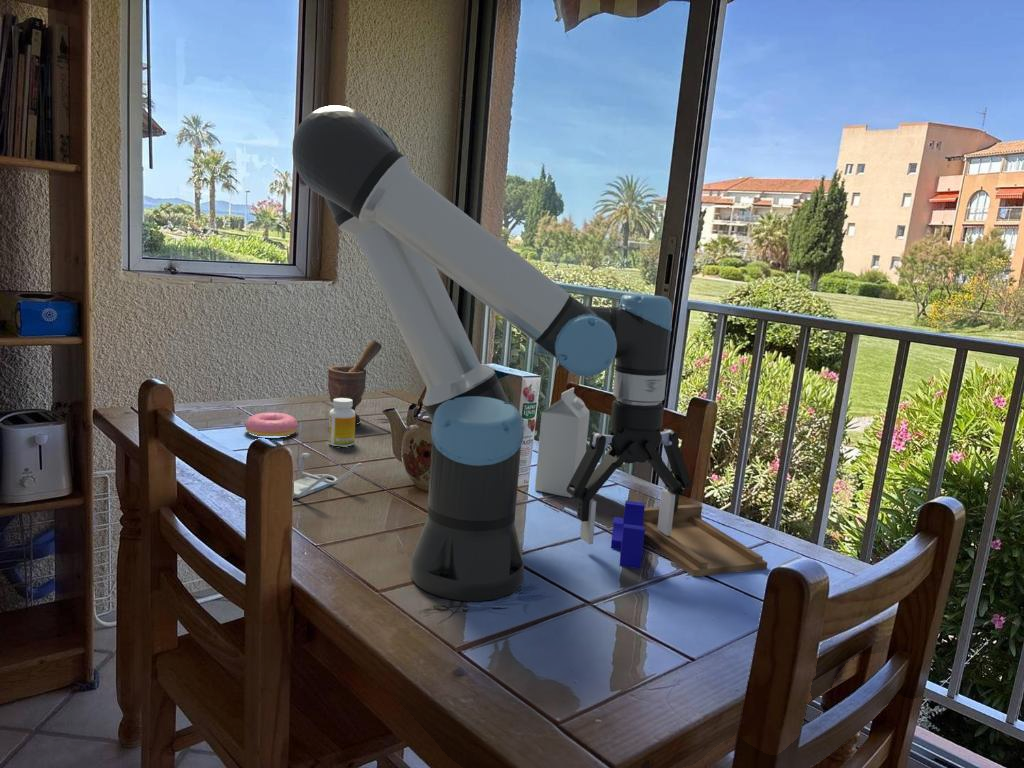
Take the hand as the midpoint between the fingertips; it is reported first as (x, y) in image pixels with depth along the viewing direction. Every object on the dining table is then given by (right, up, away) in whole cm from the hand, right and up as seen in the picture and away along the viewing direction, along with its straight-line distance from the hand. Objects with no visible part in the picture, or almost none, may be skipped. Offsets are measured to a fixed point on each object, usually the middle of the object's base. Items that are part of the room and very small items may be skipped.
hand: (626, 537), depth 113 cm
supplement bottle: (-54, +10, +44) cm, 70 cm away
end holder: (+11, -2, +3) cm, 12 cm away
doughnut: (-70, +12, +48) cm, 86 cm away
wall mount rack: (-52, +4, +14) cm, 54 cm away
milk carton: (-9, +3, +26) cm, 27 cm away
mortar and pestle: (-55, +14, +62) cm, 84 cm away
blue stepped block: (0, -2, 0) cm, 2 cm away
